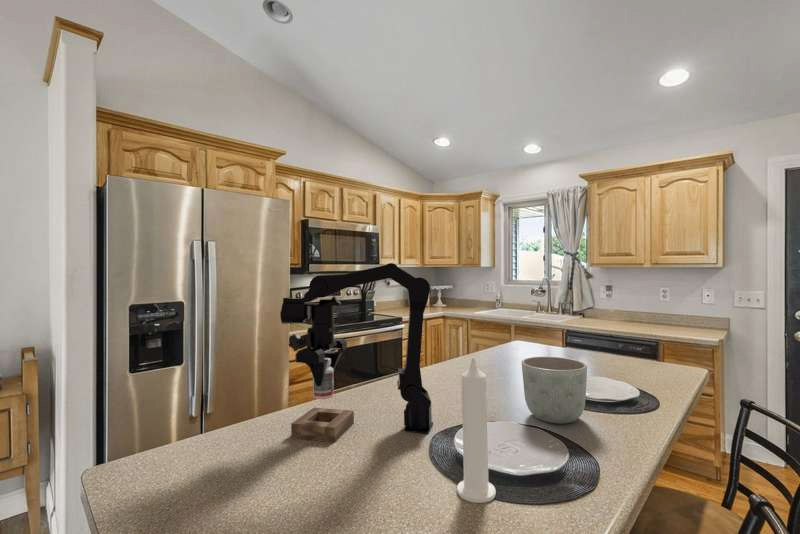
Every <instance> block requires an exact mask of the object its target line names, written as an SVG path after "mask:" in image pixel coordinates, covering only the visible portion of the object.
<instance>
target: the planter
mask: <svg viewBox="0 0 800 534" xmlns="http://www.w3.org/2000/svg"><path fill="white" fill-rule="evenodd" d="M520 364H521V371H522V373H521V374H522V382H523V384H522V385H523V391H524V392H523V393H524V400H525V404H526V406H527V409H528V410H529V412H530V413H531V414H532V415H533V416H534V417H535V418H537V419H539V420H541V421H543V422H546V423H550V424H557V425H559V424H561V425H563V424H565V425H566V424H570V423H573V422H575V421H577V420H578V419H579V418H580V417H581V416H582V414H583V413H584V410H585V407H586V406H585V405H586V399H587V397H586V396H587V380H588V379H587V378H588V364H587V363H585V362H583V361H580V360H578V359H573V358H569V357H568V358H567V357H562V356H548V355H547V356H531V357H527V358H524V359H522V361H521V363H520Z"/></svg>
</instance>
